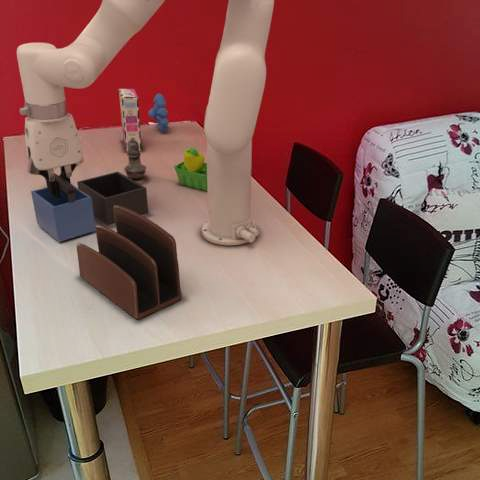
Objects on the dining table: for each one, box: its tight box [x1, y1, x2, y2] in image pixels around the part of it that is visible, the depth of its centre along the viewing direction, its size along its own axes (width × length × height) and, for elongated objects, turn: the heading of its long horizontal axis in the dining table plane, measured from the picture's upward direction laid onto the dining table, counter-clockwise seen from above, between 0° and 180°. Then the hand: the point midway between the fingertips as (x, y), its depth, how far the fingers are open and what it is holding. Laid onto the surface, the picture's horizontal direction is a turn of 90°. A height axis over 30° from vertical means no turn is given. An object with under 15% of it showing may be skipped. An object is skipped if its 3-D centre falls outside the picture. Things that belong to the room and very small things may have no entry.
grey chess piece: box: [123, 137, 147, 181], centre depth 153 cm, size 6×6×12 cm
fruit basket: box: [173, 147, 208, 192], centre depth 152 cm, size 11×9×11 cm
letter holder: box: [76, 205, 182, 320], centre depth 107 cm, size 10×20×14 cm, turn 45°
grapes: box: [147, 92, 170, 133], centre depth 191 cm, size 12×7×12 cm, turn 22°
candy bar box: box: [118, 88, 143, 153], centre depth 176 cm, size 11×5×16 cm, turn 17°
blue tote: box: [30, 172, 96, 243], centre depth 126 cm, size 11×9×12 cm
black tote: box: [77, 171, 149, 226], centre depth 137 cm, size 13×11×7 cm
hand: (61, 194), depth 124 cm, fingers closed on blue tote
